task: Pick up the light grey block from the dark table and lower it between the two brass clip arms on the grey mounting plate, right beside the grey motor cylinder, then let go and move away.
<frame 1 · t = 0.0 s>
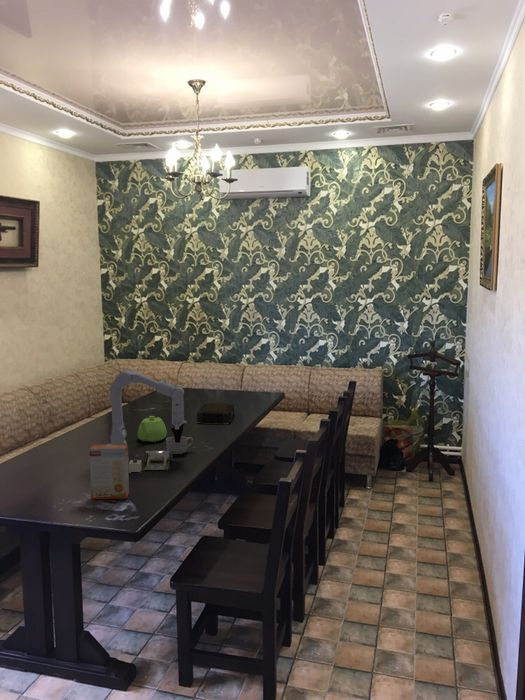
hand: (178, 440, 278), 10 cm above the table, tool pointing down, fingers open, 7 cm apart
cracker box: (110, 497, 233), on the table
cash box: (216, 420, 361), on the table
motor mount: (157, 467, 269), on the table
light grey block: (135, 471, 264), on the table
teacup: (180, 453, 291), on the table
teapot: (151, 440, 314), on the table
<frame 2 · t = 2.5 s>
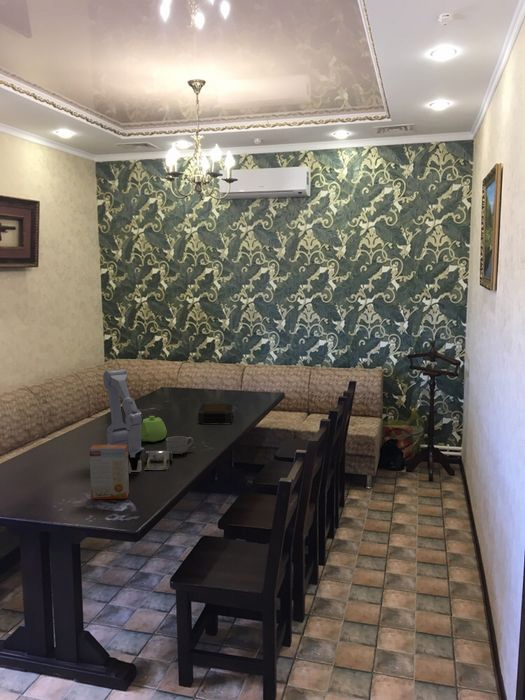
hand: (135, 468, 264), 1 cm above the table, tool pointing down, fingers closed on light grey block, 5 cm apart
light grey block: (135, 471, 264), on the table, touching gripper
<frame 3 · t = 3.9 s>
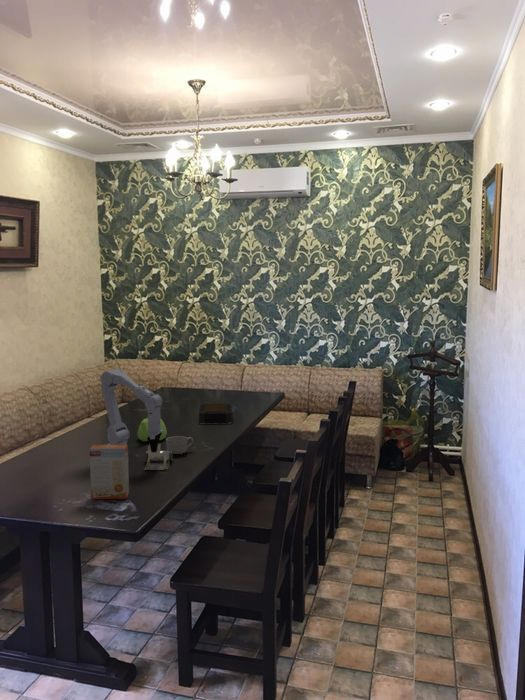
hand: (154, 450, 267), 8 cm above the table, tool pointing down, fingers closed on light grey block, 5 cm apart
light grey block: (154, 454, 267), point 6 cm above the table, touching gripper
when the fingers open (3 cm above the table, at t = 5.5 s): light grey block stays where it is, resting on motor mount.
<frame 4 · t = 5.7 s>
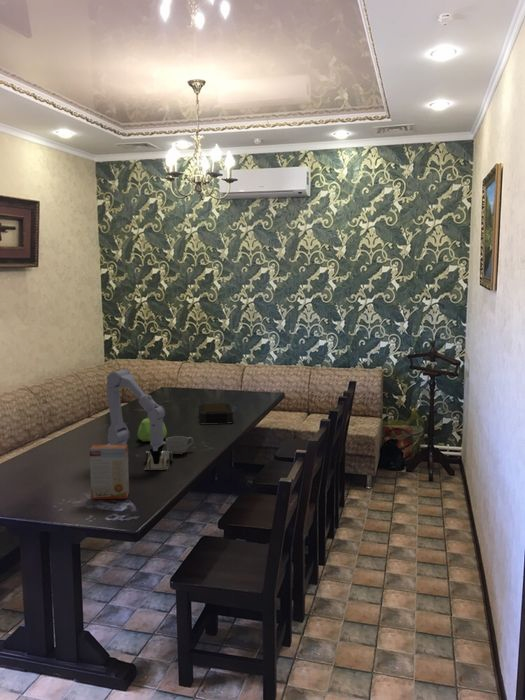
hand: (157, 461, 269), 3 cm above the table, tool pointing down, fingers open, 6 cm apart
light grey block: (156, 466, 269), point 1 cm above the table, touching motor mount
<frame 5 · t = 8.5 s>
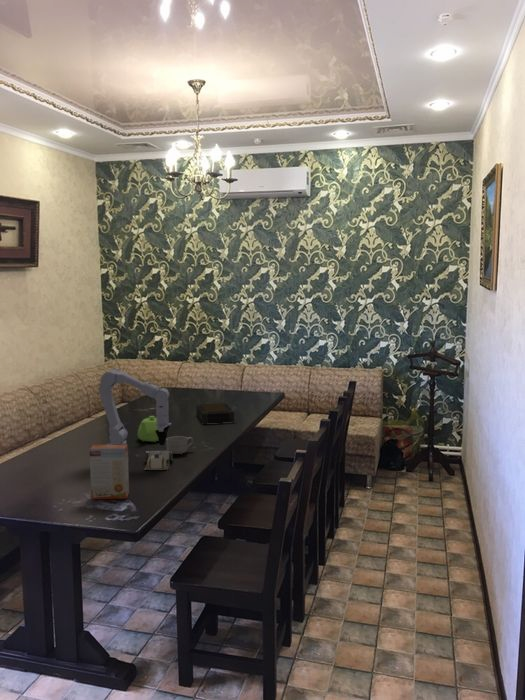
hand: (162, 442, 275), 10 cm above the table, tool pointing down, fingers open, 7 cm apart
at the end: light grey block 0.2 cm off-centre on the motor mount, point 0.6 cm above the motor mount's base; light grey block tilted 0°; the gripper is holding nothing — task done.
